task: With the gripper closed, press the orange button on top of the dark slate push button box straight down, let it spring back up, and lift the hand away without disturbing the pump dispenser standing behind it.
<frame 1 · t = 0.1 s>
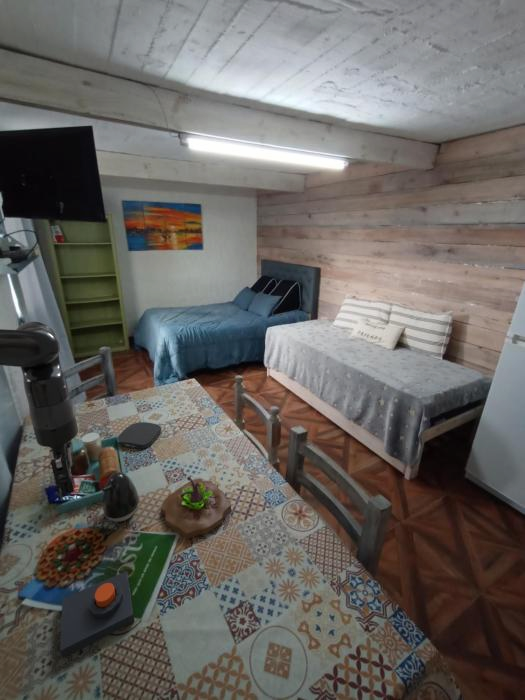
hand: (68, 479, 71), 30 cm above the table, tool pointing down, fingers open, 8 cm apart
media streaming box: (140, 437, 135), on the table
lid button: (105, 594, 72), point 5 cm above the table, slide at 0.1 cm
push button box: (99, 614, 73), on the table
plant: (197, 509, 101), on the table
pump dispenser: (123, 514, 99), on the table
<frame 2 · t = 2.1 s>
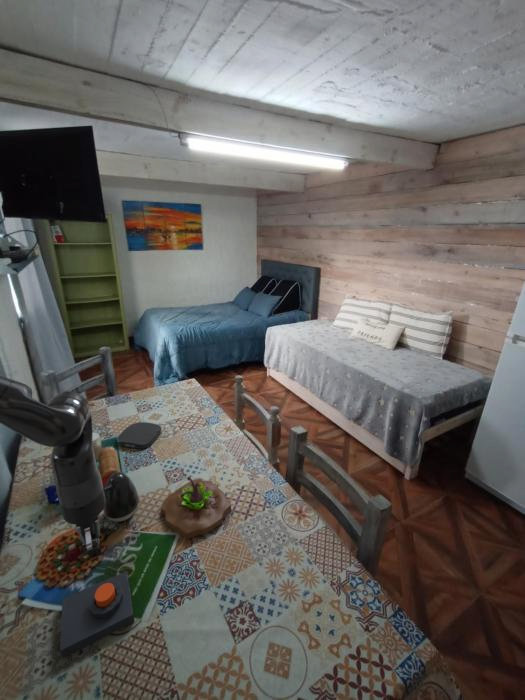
hand: (95, 554, 67), 18 cm above the table, tool pointing down, fingers closed
nothing on the table moved.
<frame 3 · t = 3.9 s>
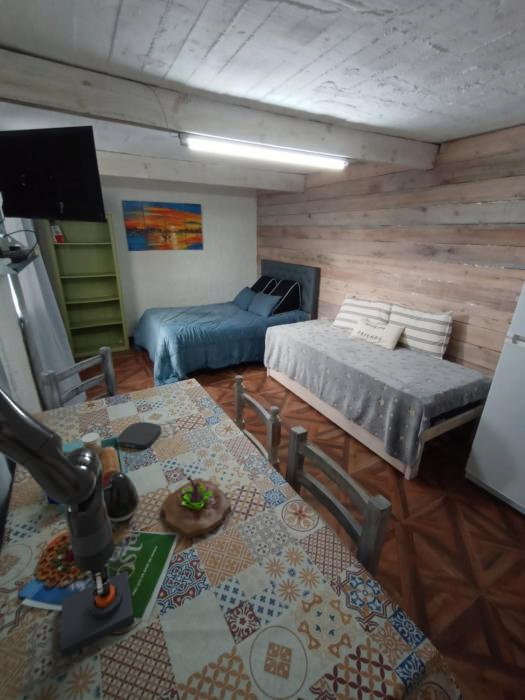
hand: (105, 593, 72), 6 cm above the table, tool pointing down, fingers closed
lid button: (105, 596, 72), point 5 cm above the table, slide at -0.5 cm, touching gripper
everything else where it was.
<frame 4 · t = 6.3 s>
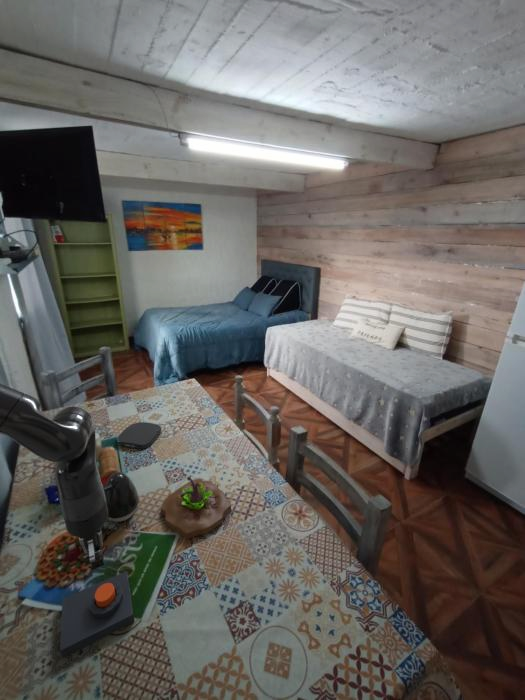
hand: (98, 564, 68), 15 cm above the table, tool pointing down, fingers closed
lid button: (105, 594, 72), point 5 cm above the table, slide at 0.1 cm
everything else where it was.
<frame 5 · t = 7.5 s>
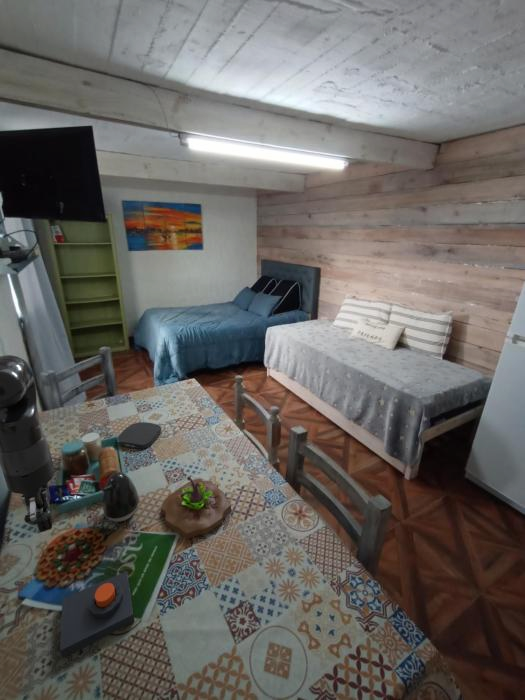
hand: (46, 528, 65), 25 cm above the table, tool pointing down, fingers closed
nothing on the table moved.
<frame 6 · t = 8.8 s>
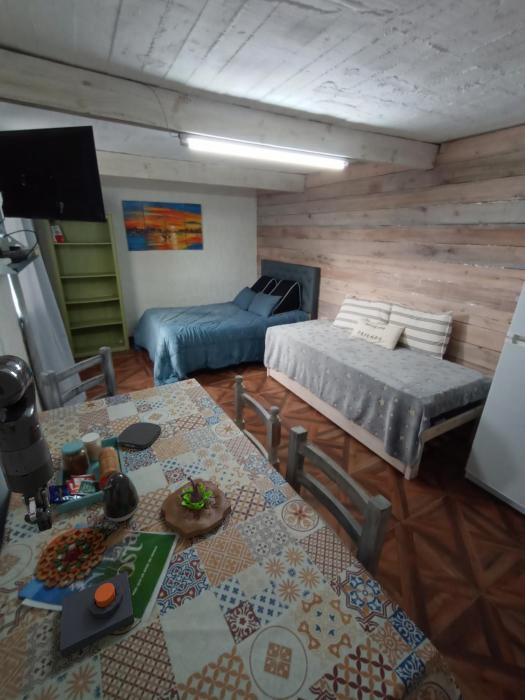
hand: (46, 527, 65), 25 cm above the table, tool pointing down, fingers closed
nothing on the table moved.
at the end: lid button pushed in 1.1 cm at the most during the clip, back to where it started at the end; lid button slide at 0.1 cm; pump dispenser moved 0.2 cm from its start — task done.
